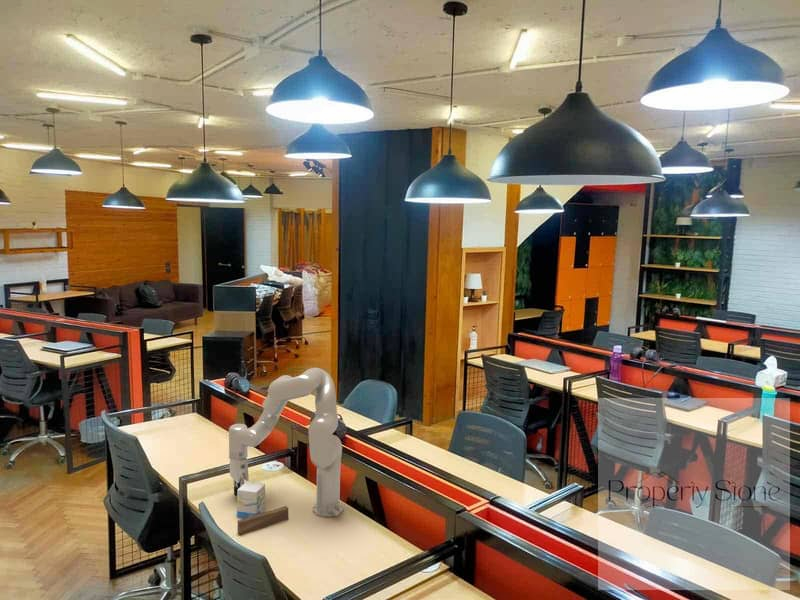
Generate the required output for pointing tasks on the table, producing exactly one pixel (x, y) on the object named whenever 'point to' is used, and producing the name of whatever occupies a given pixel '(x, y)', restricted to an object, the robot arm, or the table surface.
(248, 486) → the ink box
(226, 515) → the table surface
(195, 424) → the table surface
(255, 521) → the board
